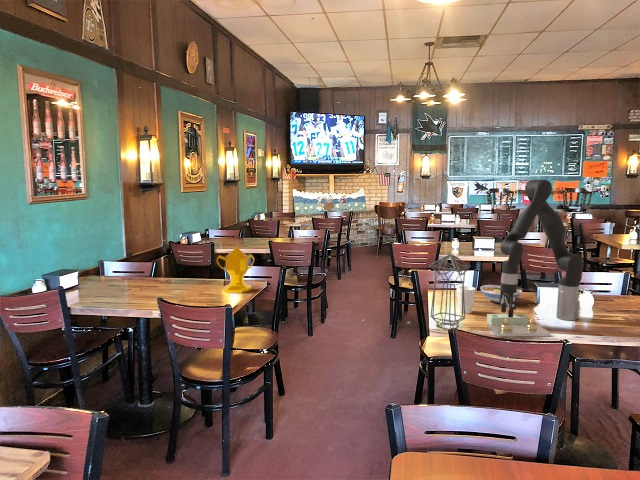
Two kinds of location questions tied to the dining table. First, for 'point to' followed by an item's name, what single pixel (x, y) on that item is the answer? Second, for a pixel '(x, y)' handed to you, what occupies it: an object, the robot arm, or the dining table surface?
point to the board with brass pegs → (518, 330)
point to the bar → (499, 318)
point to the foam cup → (466, 298)
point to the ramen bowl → (497, 292)
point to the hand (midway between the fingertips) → (506, 314)
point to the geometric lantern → (450, 287)
